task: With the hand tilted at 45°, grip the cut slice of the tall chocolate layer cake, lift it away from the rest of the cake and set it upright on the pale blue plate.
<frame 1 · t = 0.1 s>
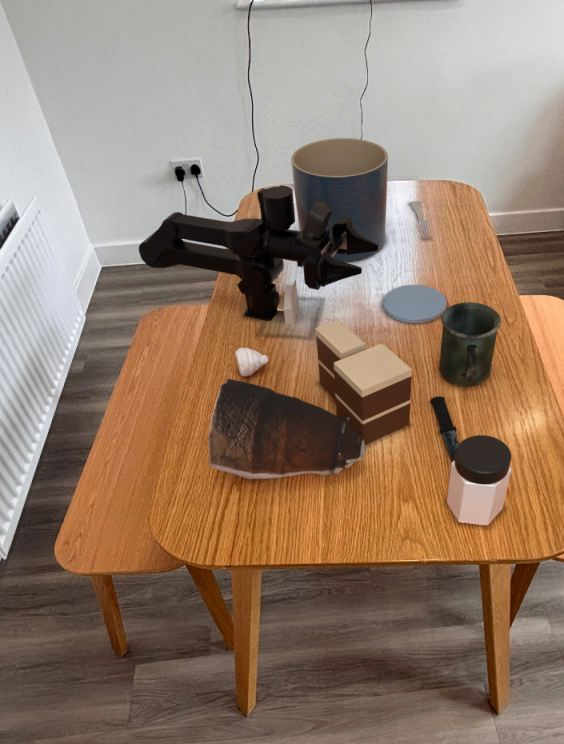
hand: (370, 258, 123), 17 cm above the table, tool horizontal, fingers open, 9 cm apart
cake slice: (342, 391, 123), on the table
fork: (419, 221, 168), on the table
plate: (414, 305, 142), on the table
planter: (342, 242, 162), on the table
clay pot: (292, 463, 111), on the table
mug: (464, 377, 125), on the table
knife: (449, 439, 114), on the table
jar: (474, 507, 104), on the table
cake: (372, 421, 117), on the table
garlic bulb: (255, 372, 128), on the table
napkin holder: (292, 318, 141), on the table, touching arm
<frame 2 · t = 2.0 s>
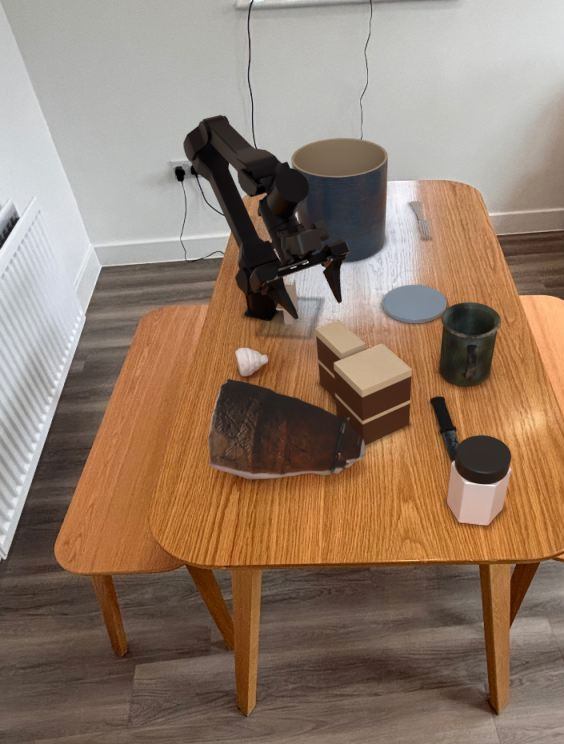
hand: (318, 310, 117), 14 cm above the table, tool tilted 45°, fingers open, 9 cm apart
nothing on the table moved.
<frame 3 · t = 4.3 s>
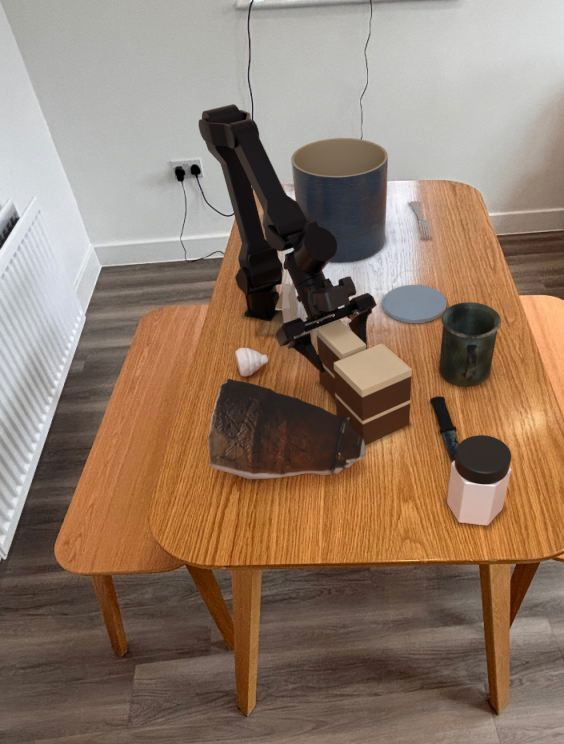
hand: (345, 363, 117), 7 cm above the table, tool tilted 45°
cake slice: (342, 391, 123), on the table, touching gripper
everything else where it was.
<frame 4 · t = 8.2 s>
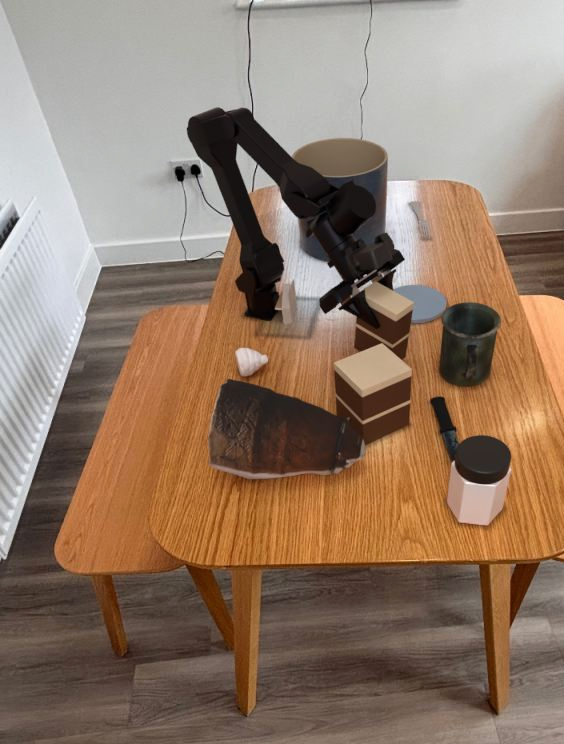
hand: (387, 321, 118), 11 cm above the table, tool tilted 45°, fingers closed on cake slice, 5 cm apart
cake slice: (379, 352, 125), point 4 cm above the table, tilted 6°, touching gripper
everything else where it was.
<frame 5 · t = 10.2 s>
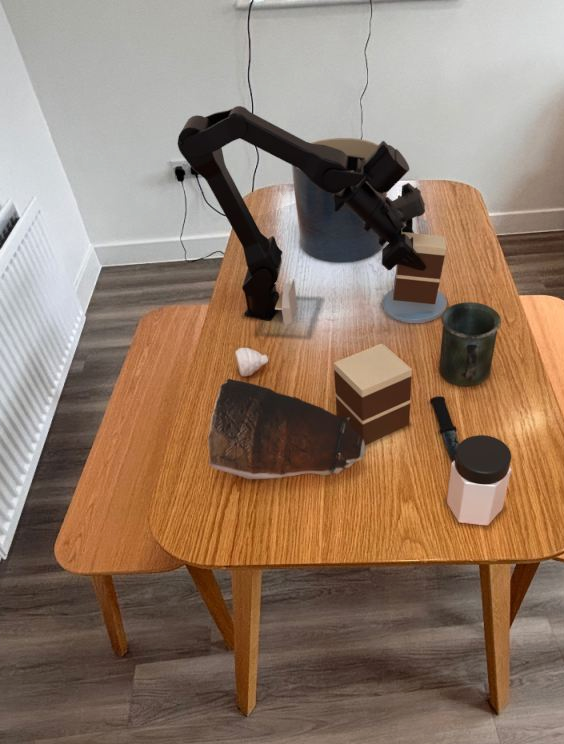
hand: (424, 262, 132), 11 cm above the table, tool tilted 45°, fingers closed on cake slice, 5 cm apart
cake slice: (414, 296, 137), point 4 cm above the table, tilted 6°, touching gripper
everything else where it was.
when the fingers open (9 cm above the table, at t = 12.1 s): cake slice stays where it is, resting on plate.
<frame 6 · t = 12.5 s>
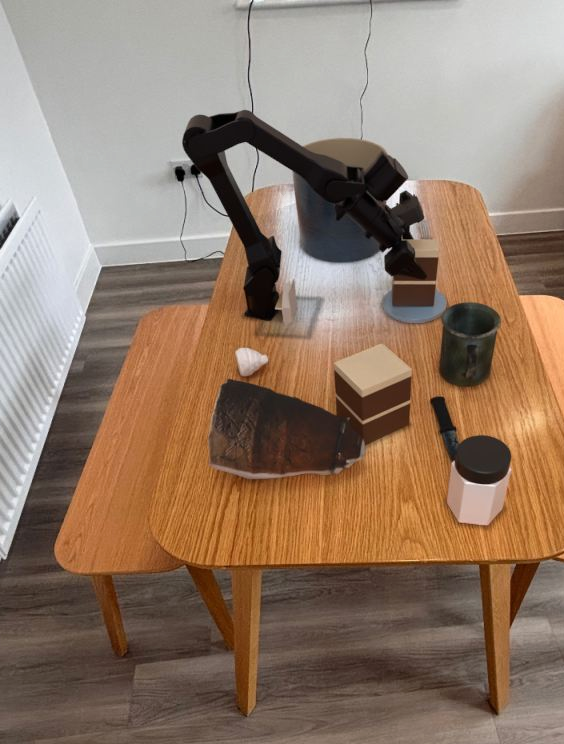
hand: (423, 266, 135), 9 cm above the table, tool tilted 45°, fingers open, 9 cm apart
cake slice: (412, 300, 141), point 1 cm above the table, touching gripper, plate
everything else where it was.
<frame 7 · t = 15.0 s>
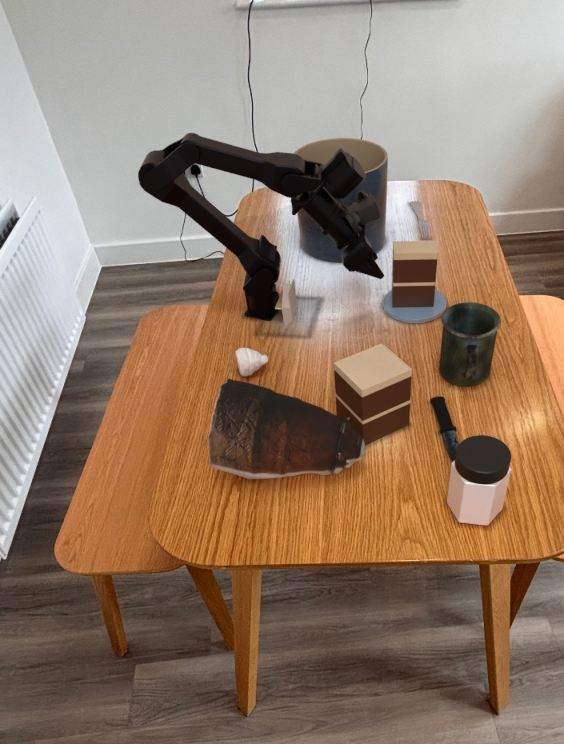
hand: (379, 268, 134), 9 cm above the table, tool tilted 40°, fingers open, 9 cm apart
cake slice: (412, 301, 141), point 1 cm above the table, touching plate
everything else where it was.
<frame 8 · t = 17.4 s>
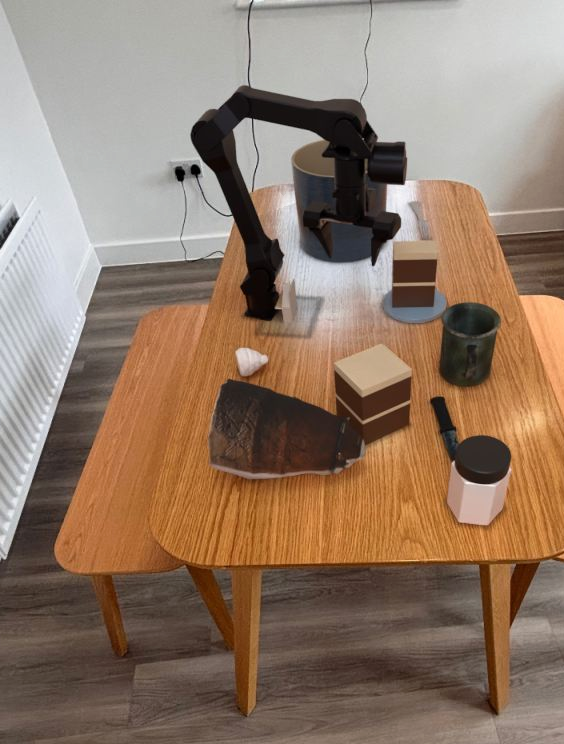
hand: (352, 261, 129), 13 cm above the table, tool pointing down, fingers open, 9 cm apart
nothing on the table moved.
at the end: cake slice inside the target area on the plate (0.5 cm from its centre), point 1.0 cm above the plate's base; cake slice tilted 0°; the gripper is holding nothing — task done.
